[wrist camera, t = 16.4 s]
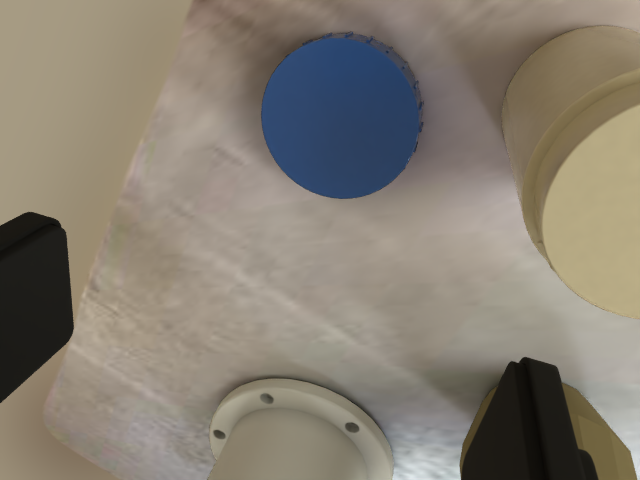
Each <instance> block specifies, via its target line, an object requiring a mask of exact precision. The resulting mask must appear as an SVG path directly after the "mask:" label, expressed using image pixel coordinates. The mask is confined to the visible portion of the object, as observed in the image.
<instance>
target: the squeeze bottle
mask: <svg viewBox="0 0 640 480" xmlns="http://www.w3.org/2000/svg"><path fill="white" fill-rule="evenodd" d="M562 386H563V390H564V394H565V398H566V402H567V406H568V410H569V414H570V418H571V422H572V426H573V430H574V434H575V438H576V441H577V445H578V449H582V450H585V451H587V452H588V453H589V454H590V455H591V457H592V459H593V462H594V464H595V468H596V472H597V475H598V479H599V480H637V476H636V472H635V468H634V464H633V460H632V456H631V453H630V451H629V449H628V448H627V447H626V446H625V445H624V443H623V442H622V441H621V440H620V439H619V437H618V436H617V435H616V434H615V433H614V432H613V430H612V429H611V428H610V427H609V426H608V424H607V423H606V422H605V421H604V420H603V418H602V417H601V416H600V415H599V414H598V413H597V411H596V410H595V409H594V408H593V407H592V405H591V404H590V403H589V402H588V401H587V400H586V399H585V398H584V397H583V396H582V395H581V394H580V393H579V392H578V391H577V390H576V389H574V388H572V387H570V386H568V385H566V384H564V383H562ZM497 387H498V386H497ZM497 387H495V388H493V389H492V391H491V392H490V393H489V394H488V395H487V397H486V398H485V399H484V400H483V401H482V403H481V406H480V408H479V410H478V412H477V414H476V416H475V419H474V421H473V423H472V425H471V427H470V429H469V431H468V434H467V436H466V438H465V440H464V442H463V446H462V452H461V459H460V473H461V480H462V466H463V461H464V458H465V455H466V452H467V450H468V448H469V446H470V444H471V442H472V440H473V438H474V435H475V433H476V431H477V429H478V427H479V425H480V423H481V421H482V419H483V416H484V414H485V412H486V410H487V408H488V406H489V404H490V402H491V399H492V397H493V395H494V393H495V391H496V389H497Z"/></svg>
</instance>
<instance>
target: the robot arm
mask: <svg viewBox="0 0 640 480" xmlns="http://www.w3.org/2000/svg"><path fill="white" fill-rule="evenodd" d="M73 330H74V324H73V311H72V298H71V286H70V274H69V261H68V248H67V237H66V232H65V230H64V229H63V228H61V224H60V223H59V221H58V220H56V219H54V218H51V217H47V216H44V215H40V214H37V213H34V212H27V213H24V214H22V215H20V216H18V217H16V218H14V219H12V220H10V221H8V222H7V223H5V224H3V225H1V226H0V403H1V402H2V401H3V400H4V399H6V398H7V397H8V396H9V395H10V394H11V393H12V392H13V391H14V390H16V389H17V388H18V387H19V386H20V385H21V384H22V383H23V382H24V381H25V380H27V379H28V378H29V377H30V376H31V375H32V374H33V373H34V372H35V371H37V370H38V369H39V368H40V367H41V366H42V365H43V364H44V363H45V362H47V361H48V360H49V359H50V358H51V357H52V356H53V355H54V354H55V353H56V352H58V351H59V350H60V349H61V348H62V347H63V346H64V345H65V344H66V343H67V342H68V341H69V339H70V338H71V336H72V334H73ZM209 441H210V446H211V450H212V453H213V455H214V457H215V460H216V463H215V465H214V467H213V469H212V471H211V473H210V475H209V477H208V479H207V480H392V479H393V469H394V460H393V456H392V452H391V448H390V446H389V444H388V442H387V440H386V438H385V436H384V434H383V432H382V431H381V430H380V429H379V427H378V426H377V425H376V423H375V422H374V421H373V420H372V419H371V418H370V417H369V416H368V415H367V414H366V413H365V412H364V411H363V410H361V409H360V408H359V407H358V406H356V405H355V404H353V403H352V402H350V401H349V400H347V399H346V398H344V397H343V396H341V395H338V394H336V393H334V392H332V391H330V390H328V389H326V388H323V387H320V386H317V385H314V384H311V383H308V382H303V381H297V380H292V379H272V378H271V379H264V380H257V381H253V382H250V383H247V384H244V385H241V386H240V387H238V388H236V389H235V390H233V391H232V392H230V393H229V394H228V395H227V396H226V397H225V398H224V399H223V400H222V401H221V403H220V405H219V407H218V408H217V410H216V412H215V413H214V415H213V418H212V421H211V424H210V427H209ZM462 480H599V479H598V475H597V472H596V468H595V464H594V462H593V459H592V457H591V455H590V454H589V453H588V452H587V451H585V450H582V449H578V445H577V441H576V438H575V434H574V430H573V426H572V422H571V418H570V414H569V410H568V406H567V402H566V398H565V394H564V390H563V386H562V382H561V378H560V374H559V371H558V368H557V367H556V366H554V365H551V364H548V363H544V362H541V361H537V360H534V359H531V358H527V357H523V358H522V359H521V360H520V362H519V363H517V362H513V361H511V362H510V363H509V364H508V366H507V368H506V370H505V372H504V374H503V376H502V378H501V380H500V383H499V385H498V387H497V389H496V391H495V393H494V395H493V397H492V399H491V402H490V404H489V406H488V408H487V410H486V412H485V414H484V416H483V419H482V421H481V423H480V425H479V427H478V429H477V431H476V433H475V435H474V438H473V440H472V442H471V444H470V446H469V448H468V450H467V452H466V455H465V458H464V461H463V466H462Z"/></svg>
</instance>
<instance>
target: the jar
mask: <svg viewBox="0 0 640 480" xmlns="http://www.w3.org/2000/svg"><path fill="white" fill-rule="evenodd" d="M502 129H503V134H504V139H505V143H506V147H507V151H508V155H509V160H510V164H511V168H512V172H513V176H514V181H515V185H516V189H517V193H518V197H519V202H520V206H521V210H522V214H523V218H524V222H525V225H526V228H527V231H528V233H529V235H530V238H531V240H532V242H533V243H534V245H535V246H536V248H537V249H538V251H539V252H540V254H541V255H542V256H543V257H544V258H545V259H546V260H547V262H548V263H549V265H550V267H551V269H552V270H553V271H554V272H555V273H556V274H557V275H558V277H559V278H560V279H561V280H562V281H563V282H564V283H565V284H566V285H567V287H569V288H570V289H571V290H572V291H573V292H575V293H576V294H577V295H578V296H580V297H581V298H583V299H584V300H586V301H588V302H589V303H591V304H593V305H595V306H597V307H599V308H601V309H603V310H606V311H609V312H612V313H615V314H618V315H621V316H626V317H630V318H635V319H640V33H639V32H636V31H633V30H629V29H626V28H622V27H616V26H591V27H584V28H580V29H576V30H573V31H570V32H567V33H565V34H562V35H560V36H558V37H556V38H554V39H552V40H550V41H549V42H547V43H546V44H544V45H543V46H541V47H540V48H539V49H537V50H536V51H535V52H534V53H533V54H532V55H530V57H529V58H528V59H527V60H526V61H525V62H524V63H523V64H522V65H521V67H520V68H519V69H518V71H517V72H516V73H515V75H514V77H513V79H512V80H511V82H510V84H509V87H508V89H507V91H506V94H505V98H504V101H503V107H502Z"/></svg>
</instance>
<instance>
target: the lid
mask: <svg viewBox="0 0 640 480" xmlns="http://www.w3.org/2000/svg"><path fill="white" fill-rule="evenodd" d="M392 49H393V47H390V48H389V47H388V46H386V45H385V44H383V43H381V42H379V41H377V40H375V39H374V37H373V36H371V37H367V36H363V35H358V34H353V32H349V33H341V34H333V35H332V33H329V34H326V35H324V36H323V37H321V38H319V39H317V40H315V41H313V40H310V41H307V42H305V43H303V46H301V47H300V48H298V49H296V50H295V51H293V52H292V53H291V54H289V55H287V56H286V58H285V59H284V60H283V61H282V62H281V63H280V64H279V65H278V67H277V68H276V69H275V71H274V72H273V74H272V75H271V78H270V80H269V82H268V84H267V86H266V89H265V92H264V96H263V101H262V111H261V118H262V128H263V133H264V137H265V140H266V143H267V146H268V148H269V150H270V153H271V155H272V156H273V158H274V160H275V161H276V163H277V164H278V165H279V167H280V168H281V169H282V170H283V171H284V172H285V173H286V175H287V176H288V177H290V178H291V179H292V180H293V181H294V182H296V183H297V184H299V185H300V186H302V187H303V188H305V189H307V190H309V191H311V192H313V193H316V194H319V195H322V196H326V197H330V198H339V199H348V198H357V197H362V196H365V195H369V194H371V193H374V192H376V191H378V190H380V189H382V188H383V187H385V186H387V185H388V184H389V183H390V182H392V181H393V180H394V179H395V178H396V177H397V176H398V175H399V174H400V173H401V172H402V171H403V170H404V169H405V167H406V165H407V164H408V162H409V160H410V158H411V156H412V154H413V152H415V151H416V147H417V144H418V142H417V139H418V136H419V132H421V130H422V127H423V122H422V107H423V104H424V101H421V96H420V91H419V88H418V83H419V82H418V81H416V80H415V78H414V76H413V74H412V72H411V70H410V69H409V67H408V66H407V65H408V62H406V63H405V62H404V61H403V60H402V58H401V57H400V56H399V55H398V54H397V53H395V52H394V51H393V50H392Z"/></svg>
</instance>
